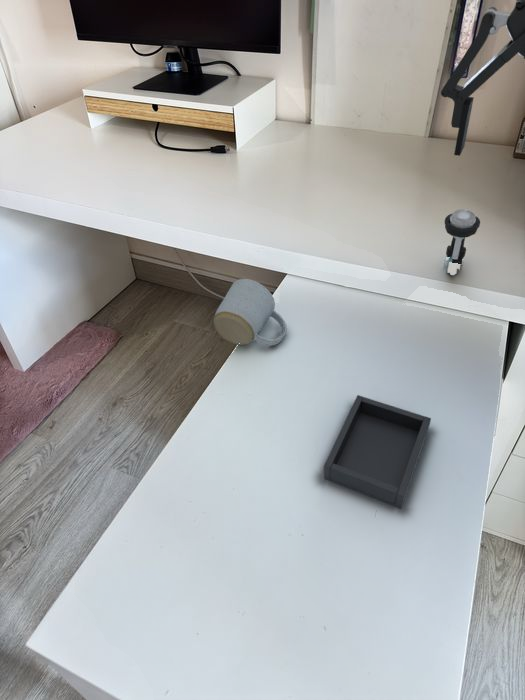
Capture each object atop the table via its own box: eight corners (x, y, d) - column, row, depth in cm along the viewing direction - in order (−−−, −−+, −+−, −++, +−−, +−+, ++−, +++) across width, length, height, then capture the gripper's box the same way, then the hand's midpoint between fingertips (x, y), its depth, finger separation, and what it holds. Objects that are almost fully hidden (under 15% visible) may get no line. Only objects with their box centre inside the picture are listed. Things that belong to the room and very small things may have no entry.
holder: (427, 431, 65) (431, 418, 63) (401, 509, 58) (404, 496, 56) (356, 408, 69) (357, 394, 66) (324, 478, 62) (323, 466, 60)
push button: (467, 283, 84) (479, 231, 76) (433, 278, 85) (443, 227, 78) (470, 259, 88) (482, 208, 81) (438, 255, 89) (447, 205, 82)
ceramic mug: (213, 342, 80) (205, 306, 74) (235, 309, 85) (229, 273, 79) (275, 358, 77) (272, 322, 71) (294, 322, 82) (292, 286, 76)
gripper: (431, -34, 53) (409, 158, 69) (721, -41, 44) (621, 184, 59) (448, -50, 58) (424, 134, 73) (715, -59, 48) (623, 155, 64)
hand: (512, 157), depth 66 cm, fingers open, 13 cm apart
